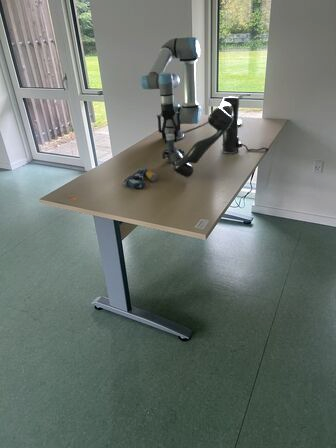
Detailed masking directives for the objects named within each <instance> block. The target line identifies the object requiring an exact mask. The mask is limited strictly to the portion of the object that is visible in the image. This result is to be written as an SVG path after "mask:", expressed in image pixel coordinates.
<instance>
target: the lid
mask: <svg viewBox="0 0 336 448" xmlns="http://www.w3.org/2000/svg"><path fill="white" fill-rule="evenodd" d="M174 139H175V135H174V134H167V135H166V140H174Z"/></svg>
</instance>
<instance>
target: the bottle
mask: <svg viewBox="0 0 336 448" xmlns="http://www.w3.org/2000/svg"><path fill="white" fill-rule="evenodd" d="M165 145H166V149H167V151H174V150H175V148H176V144H175V142H174V140H166V144H165ZM167 162H169V163H171V161H170V160H169V158H167Z"/></svg>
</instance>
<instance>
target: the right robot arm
mask: <svg viewBox="0 0 336 448" xmlns="http://www.w3.org/2000/svg"><path fill="white" fill-rule="evenodd" d="M239 109H240V99H239V97H238V96H228V97H227V96H226V97H222V99H221V101H220V103H219V105H217V107H216V108H215V109H213V110H212V111H211V112H210V114H209V115H208V118H207V121H208V122H207V123H208V124H209V125H210V126H211V127H212V128H214V129H215V130H216V132H214V134H212V135H210V136H209V137H206V138H204V139H201V140H199V141H197V142H195V143H194V144H193V145H192V146H191V148H190V149H189V150H188V152H187V153H186V154H185V150H183V149H181V148H179V149H178V148H176V147H175V150H174V151H167V148H165V149H164V150H163V151H162V159H166V158H167V159H168V158H169V160H170V161H171V162H170V163H171V165H172V166H173V170H174V172H175V173H177V174H179V175H181V176H182V177H184V178H190V177H191V176H192V175H193V174H194V167H193V165H192V164H197V163H198V162H199V161H200V159H202V158H203V156H204V154H205V153H206V152H207V151H208V150H209V149H210V148H211V147H212V146H213V145H214V144H215V143H216V142H217V141H218V140H219V139H220V138H222V144H221V145H222V153H223V154H227V155H230V154H231V155H232V154H236V153H239V149H240V148H243V147H245V149H246V151H249V152H251V151H256V152H257V151H261V150H266V151H269V148H267V147H261V148H256V149H255V148H251V149H249V148H248V146H247V145H246V144H243V142H241V141H240V137H239V125H238V119H239V111H240V110H239Z"/></svg>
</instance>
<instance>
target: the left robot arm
mask: <svg viewBox="0 0 336 448" xmlns="http://www.w3.org/2000/svg"><path fill="white" fill-rule="evenodd" d="M200 47H201V46H200V42H199V39H198V38H197V37H196V36H195V37H194V36H188V37H178V38H177V37H176V38H171V39H169V40H168V41H166V42H165V43H163V44H162V46H161V47H160V48H159V50H158V54H157V57H156V59H155V61H154V63H153V65H152V67H151V68H150V70H149V72H148V74H147V75H142V76H141V78H140V86H141V88H142V89H143V90H159V97H160V103H161V104H160V109H161V112H160V114H157V115H156V118H157V129H158V133H160V134H161V138H162V139H163V143H164V144H165V145H167V144H166V135H167V134H174V135H175V139H174V143H177V141H180V140H182V139H184V137H185V136H184V133H187V132H190V131H192V130H195V129H197V128H199V127H202V126H204V125H206V124H207V123H208V120H207V121H206V122H204V123H202V124H199V122H200V121H201V116H202V107H201V106H199V103H198V101H197V87H196V86H197V85H196V84H197V81H196V79H197V78H196V63H197V62H198V58H200V56H201V48H200ZM174 59H179V63H180V64H181V69H182V73H181V74H182V93H183V95H182V96H183V102H182V104H181V106H180V104H178V103H174V102H175V97H174V96H175V95H174V89H176V88H177V87H178V86H179V85H180V81H181V80H180V77H179V75H178V74H176V73H172V72H165V70H166V68H167V67H168V65H169V63H170V62H171V61H172V60H174ZM162 119H163V120H162ZM197 124H199V125H198V126H195V127H192V128H189V129H187V130H184V131H183V129H182V126H181V125H197Z"/></svg>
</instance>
